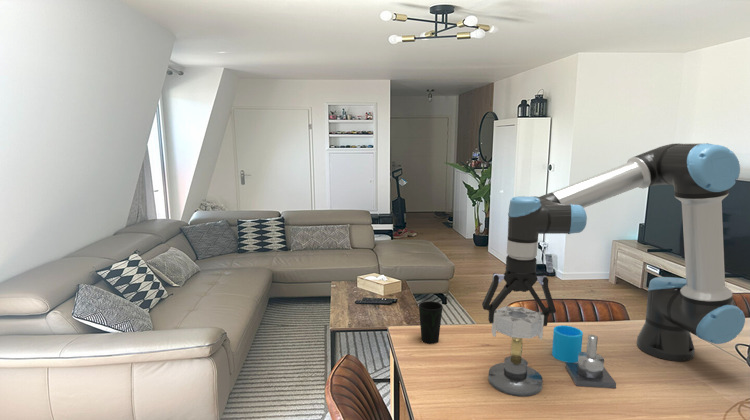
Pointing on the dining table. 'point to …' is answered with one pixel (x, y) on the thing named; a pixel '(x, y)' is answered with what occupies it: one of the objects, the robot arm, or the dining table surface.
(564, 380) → the dining table surface
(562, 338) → the mug
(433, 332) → the cup
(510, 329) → the faceted steel ring
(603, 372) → the stand
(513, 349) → the hub
